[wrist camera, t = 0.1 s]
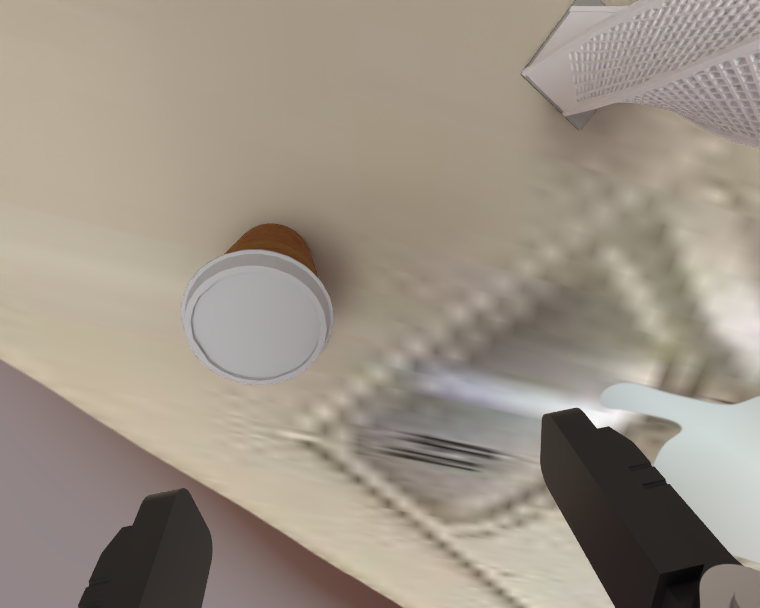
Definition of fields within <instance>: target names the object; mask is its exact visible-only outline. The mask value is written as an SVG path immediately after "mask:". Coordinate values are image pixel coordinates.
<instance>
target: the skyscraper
mask: <svg viewBox="0 0 760 608" xmlns="http://www.w3.org/2000/svg"><path fill="white" fill-rule="evenodd" d="M521 75H522V76H523V77H524V78H525V79H526V80H527V81H528V82H529V83H530V84H531V85H532V86H533V87H534V88H536V89H537V90H538V91H539V92H540V93H541V94H542V95H543V96H544V97H545V98H546V99H547V100H548V101H549V102H550V103H551V104H552V105H553V106H554V107H555V108H556V109H557V110H558V111H560V112H561V113H562V115H563V116H565V117H566V118H567V119H568V120H569V121H570V122H571V123H572V124H573V125H574V126H575V127H576V128H577V129H578V130H580V129H581V128H582V127H583V126H584V125H585V123H586V122H587V121H588V120H589V118H590V117H591V116H592V115H593V114H594V112H595V111H596V110H597V109H598V108H600V107H603V106H607V105H610V104H613V103H634V104H642V105H649V106H654V107H658V108H662V109H666V110H669V111H673V112H676V113H677V114H679V115H680V116H682V117H683V118H685V119H686V120H688V121H690V122H692V123H694V124H695V125H697V126H699V127H701V128H703V129H705V130H707V131H709V132H711V133H713V134H716V135H718V136H721V137H723V138H726V139H729V140H731V141H734V142H737V143H741V144H745V145H748V146H752V147H756V148H760V0H638V1H636V2H634V3H632V4H630V5H629V6H605V4H604V3H603V2H602V1H601V0H575V1H574V3H573V4H572V5H571V7H570V8H569V9H568V11H567V12H566V13H565V15H564V16H563V17H562V19H561V20H560V22H559V23H558V24H557V26H556V27H555V28H554V30H553V31H552V32H551V34H550V35H549V36H548V38H547V39H546V40H545V42H544V43H543V44H542V46H541V47H540V49H539V50H538V51H537V53H536V54H535V55H534V57H533V58H532V59H531V61H530V62H529V63H528V65H527V66H526V67H525V69H524V70H523V71H522V73H521Z"/></svg>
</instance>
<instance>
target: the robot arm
mask: <svg viewBox="0 0 760 608" xmlns="http://www.w3.org/2000/svg"><path fill="white" fill-rule="evenodd" d="M540 464H541V470H542V474H543V477H544V480H545V483H546V485H547V487H548V489H549V491H550V493H551V495H552V496H553V498H554V500H555V502H556V504H557V505H558V507H559V509H560V511H561V512H562V514H563V516H564V518H565V519H566V521H567V523H568V525H569V527H570V528H571V530H572V532H573V534H574V535H575V537H576V539H577V541H578V542H579V544H580V546H581V548H582V549H583V551H584V553H585V555H586V557H587V558H588V560H589V562H590V564H591V565H592V567H593V569H594V571H595V572H596V574H597V576H598V578H599V580H600V581H601V583H602V585H603V587H604V588H605V590H606V592H607V594H608V595H609V597H610V599H611V601H612V603H613V604H614V606H615V608H760V572H759V571H757V570H754V569H752V568H749V567H745V566H743V565H742V564H741V563H739V562H738V561H737V560H736V559H735V558H734V557H733V556H732V555H731V554H730V553H729V552H728V551H727V550H726V548H725V547H724V546H723V545H722V544H721V543H720V542H719V540H718V539H717V538H716V537H715V536H714V535H713V534H712V532H711V531H710V530H709V529H708V528H707V527H706V525H704V523H703V522H702V521H701V520H700V519H699V517H698V516H697V515H696V514H695V513H694V512H693V510H692V509H691V508H690V507H689V506H688V505H687V504H686V502H685V501H684V500H683V499H682V498H681V497H680V496H679V495H678V493H677V492H676V491H675V490H674V489H673V488H672V486H671V485H670V484H667V483H666V480H665V478H664V477H663V476H662V475H661V474H660V473H659V471H658V470H657V469H656V468H655V467H652V466H651V462H650V461H649V460H648V459H647V458H646V456H645V455H644V454H643V453H642V452H641V451H640V450H639V448H638V447H637V446H636V445H635V444H634V443H633V442H632V441H631V440H629V439H628V438H626V437H624V436H623V435H621V434H620V433H618V432H617V431H615V430H613V429H612V428H610V427H609V426H608V427H604V428H599V429H597V428H596V427H595V426H594V425H593V423H592V422H591V421H590V420H589V418H588V417H587V416H586V415H585V413H584V412H583V411H582V410H581V409H579V408H572V409H568V410H563V411H558V412H553V413H548V414H544V415H543V417H542V429H541V454H540ZM211 560H212V539H211V534H210V531H209V529H208V527H207V525H206V523H205V521H204V519H203V517H202V515H201V513H200V512H199V510H198V508H197V506H196V504H195V502H194V500H193V498H192V496H191V494H190V493H189V491H188V490H187V489H185V488H182V489H177V490H172V491H168V492H162V493H158V494H153V495H149V496H147V497H146V498H145V499H144V500H143V502H142V504H141V506H140V509H139V511H138V513H137V516H136V518H135V521H134V523H133V525H132V526H127V527H123V528H121V530H120V531H119V532H118V533H117V535H116V536H115V537H114V538H113V540H112V541H111V542H110V543H109V545H108V546H107V547H106V549H105V550H104V551H103V552H102V554H101V556H100V558H99V560H98V562H97V565H96V567H95V569H94V571H93V573H92V576H91V578H90V580H89V587H87V588H86V589H85V591H84V593H83V596H82V598H81V600H80V603H79V605H78V607H79V608H201V607H202V602H203V598H204V593H205V588H206V583H207V579H208V575H209V569H210V565H211Z"/></svg>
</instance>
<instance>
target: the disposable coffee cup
mask: <svg viewBox="0 0 760 608" xmlns="http://www.w3.org/2000/svg"><path fill="white" fill-rule="evenodd" d="M181 319H182V323H183V327H184V331H185V334H186V337H187V340H188V343H189V345H190V347H191V349H192V351H193V352H194V353H195V355H196V356H197V357H198V359H199V360H200V361H201V362H202V363H203V364H204V365H205V366H206V367H208V368H209V369H210V370H212V371H213V372H215V373H216V374H218V375H220V376H222V377H225V378H227V379H230V380H233V381H235V382H238V383H243V384H249V385H267V384H274V383H279V382H282V381H286V380H288V379H291V378H293V377H295V376H297V375H298V374H300V373H301V372H303V371H305V370H306V369H307V368H308V367H309V366H310V365H311V364H312V363H313V362H314V361H315V360H316V359H317V357H318V356H319V355H320V353H321V352H322V351H323V350H324V348H325V347H326V345H327V343H328V341H329V339H330V336H331V333H332V328H333V307H332V304H331V300H330V297H329V294H328V292H327V291H326V289H325V287H324V285H323V284H322V282H321V280H320V279H319V278H318V276H317V273H316V270H315V267H314V264H313V261H312V258H311V255H310V251H309V249H308V247H307V245H306V243H305V241H304V240H303V239H302V237H301V236H300V235H298V234H297V233H296V232H295V231H293V230H291V229H290V228H288V227H285V226H282V225H278V224H264V225H259V226H257V227H254V228H252V229H251V230H249V231H248V232H246V233H245V234H244V235H243V236H242V237H241V238H240V239H239V240H238V241H237V242H236V243H235V244H234V245H233V246H232V247H231V248H230V249H229V250H228V251H227V252H226V253H225V254H224V255H222V256H220V257H218V258H216V259H214V260H212V261H210V262H209V263H208V264H206V265H205V266H204V267H203V268H201V269H200V270H199V271H198V272H197V273H196V274H195V276H194V277H193V278H192V279H191V281H190V282H189V284H188V286H187V288H186V291H185V293H184V296H183V300H182V305H181Z"/></svg>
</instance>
